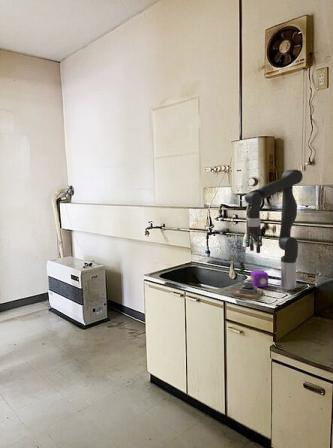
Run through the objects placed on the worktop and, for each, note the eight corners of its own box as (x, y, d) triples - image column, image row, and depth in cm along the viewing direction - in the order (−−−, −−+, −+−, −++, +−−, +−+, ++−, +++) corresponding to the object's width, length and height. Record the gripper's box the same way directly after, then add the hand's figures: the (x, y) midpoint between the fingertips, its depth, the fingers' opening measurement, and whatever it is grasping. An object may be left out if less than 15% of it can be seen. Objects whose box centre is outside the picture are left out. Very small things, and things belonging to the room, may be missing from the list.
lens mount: (241, 289, 221) (241, 283, 220) (263, 292, 213) (263, 286, 213) (233, 295, 209) (233, 289, 209) (255, 299, 201) (255, 292, 201)
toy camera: (258, 290, 219) (258, 274, 218) (247, 284, 232) (247, 270, 231) (273, 288, 222) (273, 273, 221) (262, 282, 235) (262, 268, 234)
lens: (246, 290, 214) (246, 279, 214) (254, 291, 211) (253, 280, 211) (242, 292, 210) (242, 281, 210) (250, 293, 207) (250, 282, 207)
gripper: (265, 226, 201) (266, 253, 203) (254, 223, 215) (255, 249, 217) (253, 227, 200) (254, 254, 202) (243, 224, 214) (244, 250, 216)
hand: (255, 251), depth 209 cm, fingers open, 8 cm apart
